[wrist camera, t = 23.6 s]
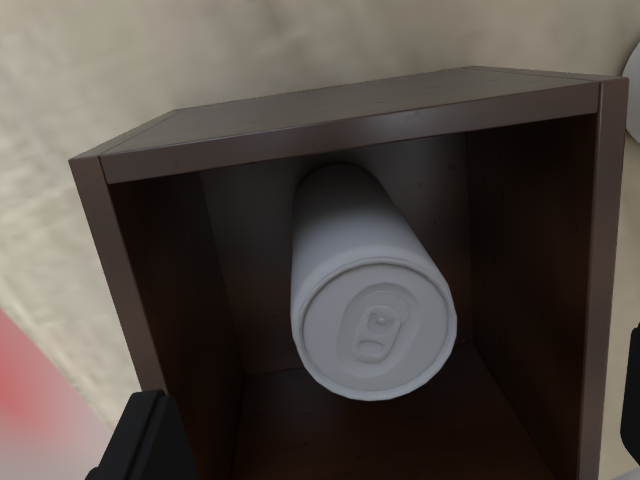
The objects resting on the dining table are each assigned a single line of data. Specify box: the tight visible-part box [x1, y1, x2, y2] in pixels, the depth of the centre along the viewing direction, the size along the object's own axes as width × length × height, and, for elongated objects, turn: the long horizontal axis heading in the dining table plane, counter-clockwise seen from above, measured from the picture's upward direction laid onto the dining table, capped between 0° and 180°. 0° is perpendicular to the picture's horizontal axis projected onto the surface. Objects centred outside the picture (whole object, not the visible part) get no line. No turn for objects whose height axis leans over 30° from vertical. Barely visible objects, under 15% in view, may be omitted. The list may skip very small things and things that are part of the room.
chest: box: [68, 66, 630, 480], centre depth 21 cm, size 16×15×12 cm
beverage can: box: [290, 164, 457, 401], centre depth 20 cm, size 5×5×12 cm
